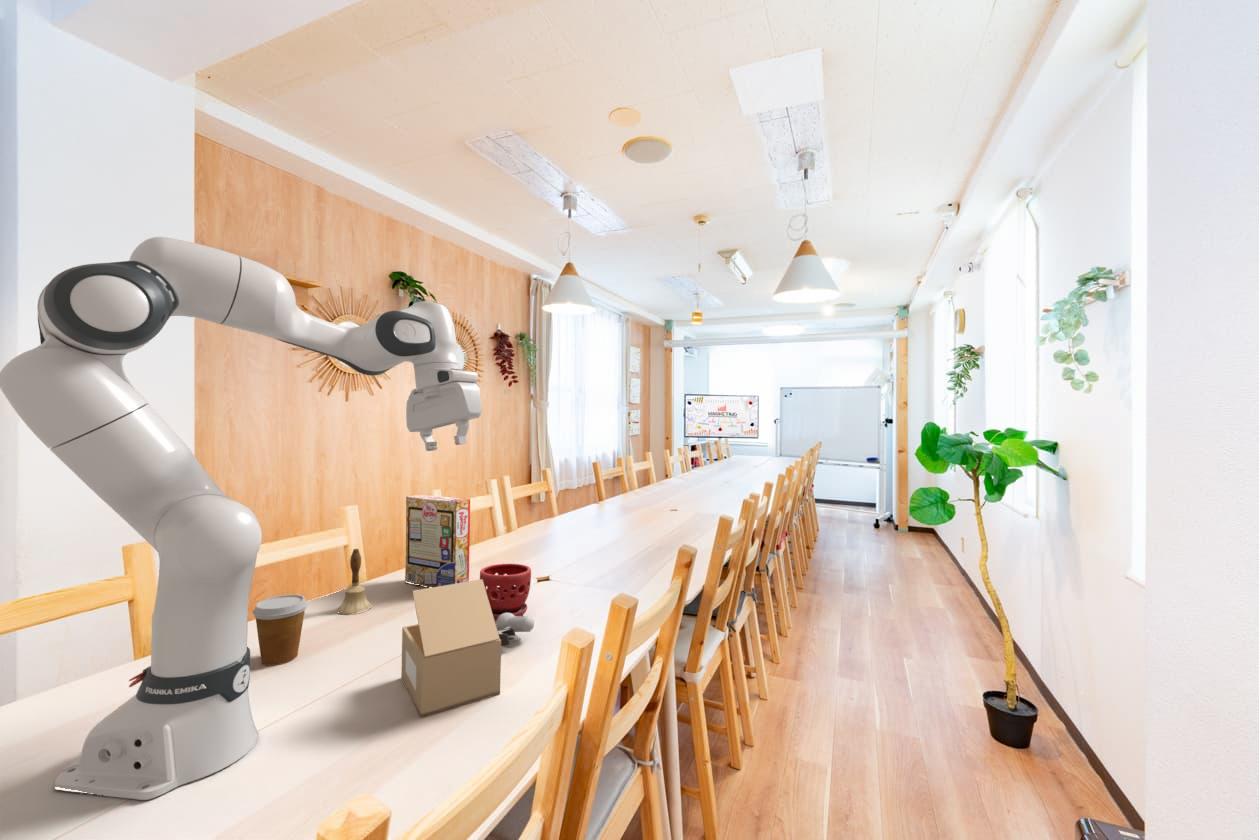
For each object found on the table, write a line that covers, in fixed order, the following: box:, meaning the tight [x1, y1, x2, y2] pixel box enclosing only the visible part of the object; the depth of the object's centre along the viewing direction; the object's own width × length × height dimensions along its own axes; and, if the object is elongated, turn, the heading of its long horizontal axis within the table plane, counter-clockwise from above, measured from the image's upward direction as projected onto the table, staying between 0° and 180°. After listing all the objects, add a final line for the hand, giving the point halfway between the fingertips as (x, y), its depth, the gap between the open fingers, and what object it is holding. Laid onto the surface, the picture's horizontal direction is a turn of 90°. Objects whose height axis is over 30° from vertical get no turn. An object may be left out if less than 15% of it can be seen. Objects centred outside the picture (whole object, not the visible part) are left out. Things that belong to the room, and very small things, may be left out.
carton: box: [400, 623, 502, 719], centre depth 97 cm, size 16×14×10 cm
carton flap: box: [412, 579, 500, 657], centre depth 94 cm, size 13×13×1 cm
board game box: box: [404, 494, 471, 588], centre depth 154 cm, size 20×6×27 cm, turn 66°
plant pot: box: [479, 563, 532, 621], centre depth 133 cm, size 13×13×12 cm
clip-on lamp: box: [495, 613, 535, 647], centre depth 118 cm, size 12×6×18 cm
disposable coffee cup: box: [252, 594, 309, 666], centre depth 106 cm, size 10×10×12 cm
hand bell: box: [336, 548, 372, 615], centre depth 135 cm, size 8×8×16 cm
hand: (445, 447), depth 103 cm, fingers open, 8 cm apart
